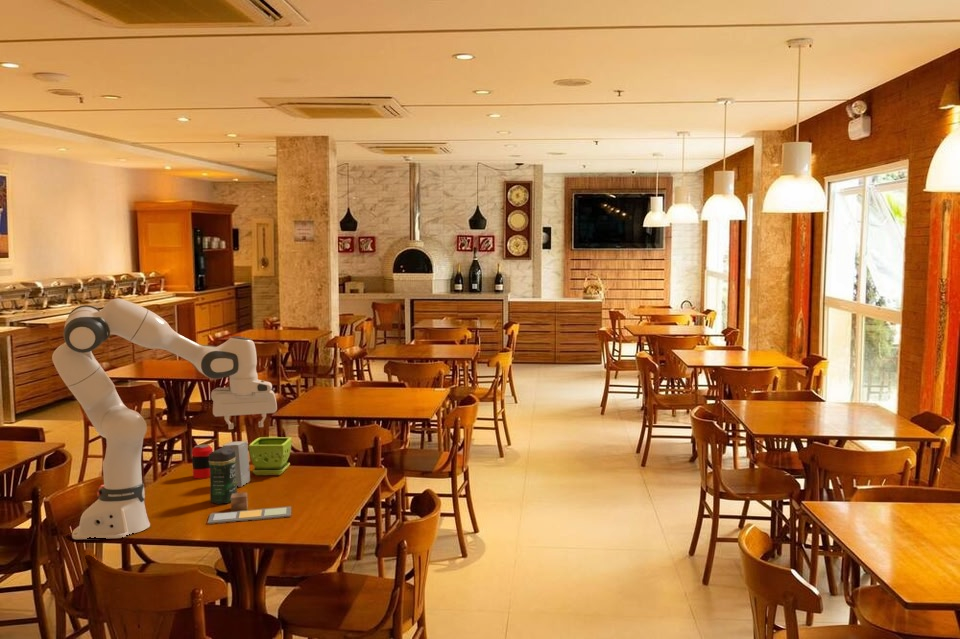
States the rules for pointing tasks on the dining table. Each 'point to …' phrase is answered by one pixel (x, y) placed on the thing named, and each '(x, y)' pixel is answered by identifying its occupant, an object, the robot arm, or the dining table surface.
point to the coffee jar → (222, 475)
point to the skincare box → (241, 462)
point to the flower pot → (270, 455)
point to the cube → (239, 501)
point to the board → (249, 515)
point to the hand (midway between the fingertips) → (246, 428)
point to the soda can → (201, 461)
